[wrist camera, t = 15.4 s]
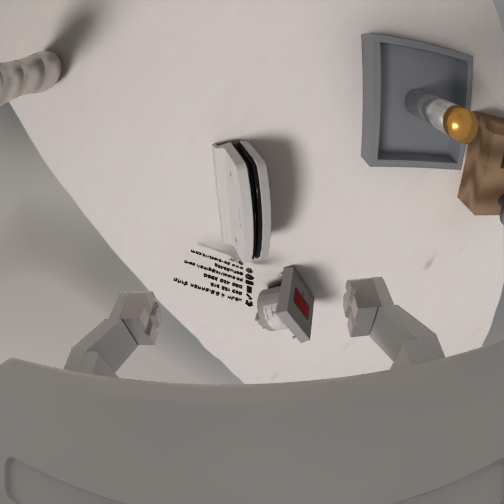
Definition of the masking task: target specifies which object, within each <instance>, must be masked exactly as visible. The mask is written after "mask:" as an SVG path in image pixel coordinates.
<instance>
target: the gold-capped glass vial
mask: <svg viewBox="0 0 504 504" xmlns="http://www.w3.org/2000/svg"><path fill="white" fill-rule="evenodd" d="M404 104H405V108H406V110H407V111H408V112H409V113H410V114H412V115H413V116H415V117H417V118H419V119H421V120H423V121H425V122H426V123H428V124H430V125H432V126H433V127H435V128H437V129H439V130H440V131H442V132H444V133H445V134H447V135H448V136H450V137H452V138H453V139H455V140H456V141H458V142H460V143H462V144H467V143H470V142H471V141H472V140H473V139H474V138H475V137H476V134H477V131H478V121H477V118H476V116H475V114H474V113H473V112H471V111H470V110H468V109H465V108H463V107H461V106H459V105H456V104H454V103H452V102H449V101H447V100H444V99H442V98H439V97H437V96H434V95H431V94H429V93H426V92H423V91H420V90H417V89H413V90H411V91H409V92H408V93H407V94H406V96H405V100H404Z"/></svg>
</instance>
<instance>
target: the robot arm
mask: <svg viewBox="0 0 504 504" xmlns="http://www.w3.org/2000/svg"><path fill="white" fill-rule="evenodd" d="M346 290H347V292H346V293H345V294H344V300H343V307H344V313H345V316H346V317H347V318H348V324H347V325H348V329H349V333H350V337H357V336H367V335H370V337H371V338H372V339H373V341H374V342H375V343H376V344H377V345H378V346H379V347H380V348H381V349H382V350H383V351H384V352H385V353H386V354H387V355H388V356H389V357H390V359H391V360H392V361H393V362H394V363H393V364H392V366H391V368H390V370H386V371H380V372H374V373H368V374H361V375H354V376H347V377H339V378H331V379H322V380H311V381H300V382H286V383H268V384H229V385H228V384H227V385H226V384H185V383H167V382H154V381H142V380H132V379H123V378H119V377H118V376H117V375H116V374H115V372H116V371H117V370H118V369H119V367H120V366H121V365H122V364H123V363H124V362H125V360H126V359H127V358H128V357H129V356H130V355H131V353H132V352H133V351H134V350H135V349H136V347H137V346H138V345H155V342H156V338H157V335H158V332H157V330H156V328H157V327H158V326H159V325H160V323H161V317H162V316H161V314H162V313H161V308H160V306H159V304H158V303H156V302H155V298H156V297H155V295H154V293H153V292H151V291H122V292H120V293H119V295H118V298H117V300H116V302H115V304H114V307H113V309H112V312H111V314H110V317H109V319H105V320H104V321H103V322H102V323H100V324H99V325H98V326H97V327H96V328H94V329H93V330H92V331H91V332H90V333H89V334H88V335H86V336H85V337H84V338H83V339H82V340H81V341H80V342H78V343H77V344H76V345H75V346H74V347H73V348H72V349H71V352H70V354H69V357H68V359H67V362H66V365H65V367H64V369H59V368H55V367H50V366H46V365H41V364H37V363H33V362H28V361H24V360H21V359H17V358H9V359H8V360H6V361H5V362H4V363H2V364H1V365H0V504H504V340H502V341H499V342H496V343H493V344H490V345H487V346H483V347H480V348H477V349H474V350H470V351H467V352H464V353H460V354H457V355H453V356H449V357H445V356H444V353H443V350H442V348H441V345H440V343H439V340H438V338H437V335H436V334H435V333H434V332H432V331H431V330H430V329H428V328H427V327H426V326H425V325H423V324H422V323H421V322H419V321H418V320H417V319H416V318H414V317H413V316H412V315H410V314H409V313H408V312H406V311H405V310H404V309H402V308H401V307H400V306H398V305H394V303H393V301H392V298H391V296H390V293H389V291H388V289H387V286H386V284H385V282H384V279H383V278H382V277H374V278H364V279H354V280H347V282H346Z"/></svg>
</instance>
